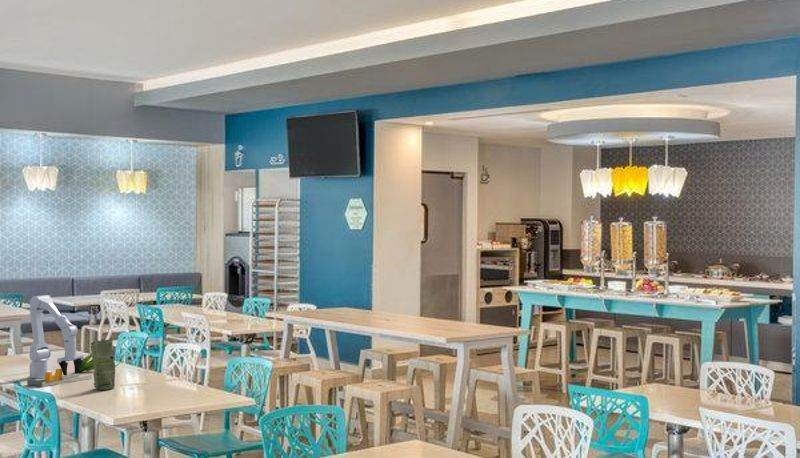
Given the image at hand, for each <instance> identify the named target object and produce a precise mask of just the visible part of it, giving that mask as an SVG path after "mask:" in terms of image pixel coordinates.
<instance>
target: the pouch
mask: <svg viewBox="0 0 800 458" xmlns="http://www.w3.org/2000/svg"><path fill="white" fill-rule="evenodd" d="M113 340H114V338H112V337H110V338H108V339H105V340H104V338H102V339H101V340H94V341H91V342H90V344H91V346H90V348H91V349H90V351H91V353H92V357H91V358H92V359H93V365H92V366H93V368H94V370H93V371H94V372H93V382H94V383H93V386H94V389H97V390H98V391H104V390H105V391H108V390H112V389H113V388H115V386H116V383H115V381H116V380H115V379H116V367H115V365H116V361H115V356H114V355H113V352H112V351H113V345H114V344H113ZM113 356H114V357H113ZM92 359H91V360H92Z"/></svg>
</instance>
